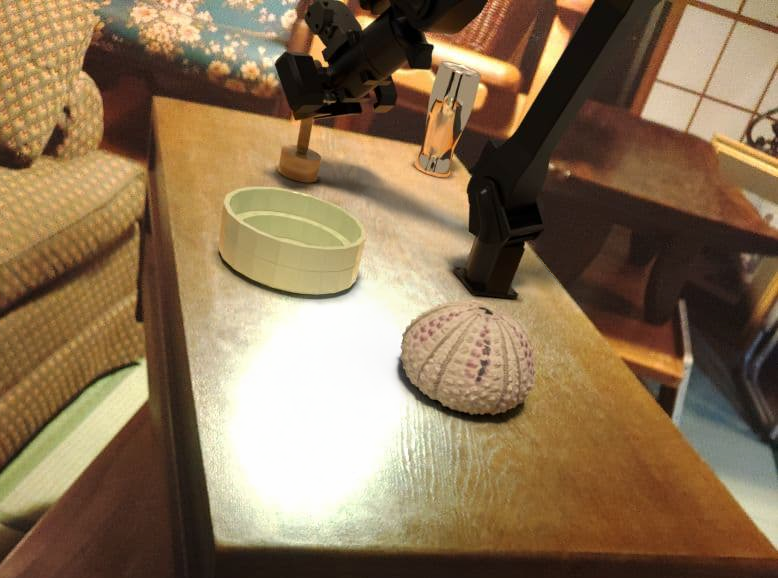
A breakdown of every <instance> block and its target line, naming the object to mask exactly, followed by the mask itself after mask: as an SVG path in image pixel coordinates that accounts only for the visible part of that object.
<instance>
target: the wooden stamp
mask: <svg viewBox="0 0 778 578" xmlns="http://www.w3.org/2000/svg"><path fill="white" fill-rule="evenodd" d="M314 62H315V65H316V66H318V67H323V64H322V62H321V60H319V59H314ZM313 124H314V120H313V118H309V119H304V120H300V124H299V129H298V130H299V131H298V135H297V144H284V145H282V146H281V150H280V155H279V161H278V168H277V170H278V172H279V174H281V176H283V177H285V178H287V179H289V180H292V181H296V182H301V183H308V184H309V183H310V184H311V183H315V182H317V181H318V176H319V171H320V167H321V162H322V156H321V155H320V153H318V152H317V151H315V150H313V149H311V148H310V147H309V146H310V140H311V136H312V131H313V130H312V129H313Z"/></svg>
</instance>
